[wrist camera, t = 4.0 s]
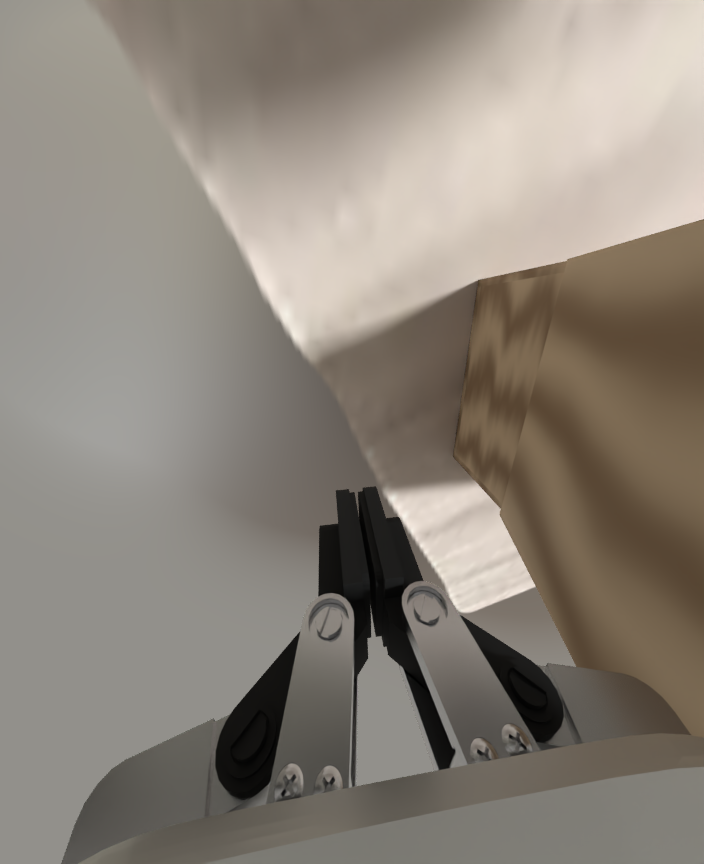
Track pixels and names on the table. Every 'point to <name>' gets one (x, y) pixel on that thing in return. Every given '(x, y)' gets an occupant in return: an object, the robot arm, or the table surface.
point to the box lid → (622, 466)
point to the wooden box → (503, 370)
